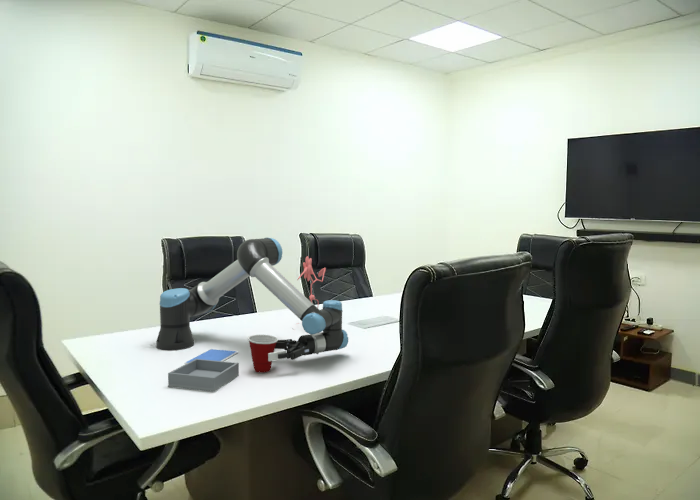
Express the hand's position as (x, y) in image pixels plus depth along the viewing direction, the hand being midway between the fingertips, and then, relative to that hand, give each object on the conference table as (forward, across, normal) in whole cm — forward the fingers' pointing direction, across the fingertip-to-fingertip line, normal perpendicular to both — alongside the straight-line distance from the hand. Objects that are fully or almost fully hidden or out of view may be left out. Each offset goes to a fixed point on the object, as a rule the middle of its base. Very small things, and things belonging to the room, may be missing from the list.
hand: (259, 352), depth 181 cm
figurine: (-50, +51, -7) cm, 72 cm away
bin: (+20, +1, -7) cm, 21 cm away
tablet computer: (+8, +25, -8) cm, 27 cm away
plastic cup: (-1, 0, -7) cm, 7 cm away
